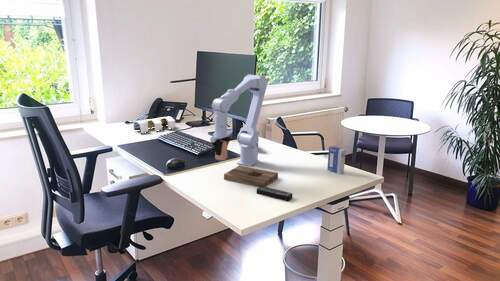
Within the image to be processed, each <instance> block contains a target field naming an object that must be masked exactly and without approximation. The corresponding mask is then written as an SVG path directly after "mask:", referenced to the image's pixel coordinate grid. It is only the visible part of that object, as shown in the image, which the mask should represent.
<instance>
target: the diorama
mask: <svg viewBox="0 0 500 281" xmlns="http://www.w3.org/2000/svg"><path fill="white" fill-rule="evenodd" d="M146 118H147V115H144V116H143V115H140V117H139V120H135V121H134V122H133V124H132V126H133V131H134V130H141V131H140V133H145V132H148V133H149V130H148V128H152V127H155V129H154V131H157V130H161V131H162V130H163V128H162V126H166V125H168V127H167V130H168V129H169V128H176V120H175V119H174V118H173V117H172V116H168V115H167V116H162V117H156V118H150V119H149V118H147V119H146Z"/></svg>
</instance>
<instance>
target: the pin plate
mask: <svg viewBox="0 0 500 281" xmlns="http://www.w3.org/2000/svg"><path fill="white" fill-rule="evenodd" d="M278 178H279V172H276V171H271V170H266V169H261V168H256V167H252V166H247V165H242V164H238V166H236V167H234V168H232V169H230V170H228V171H227V172H225V173H223V180H225V181H230V182H235V183H239V184H243V185H248V186H251V187H256V188H259V187H261V186H264V187H268V186H269V185H270V184H272V183H273V182H274V181H276V180H278Z"/></svg>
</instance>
